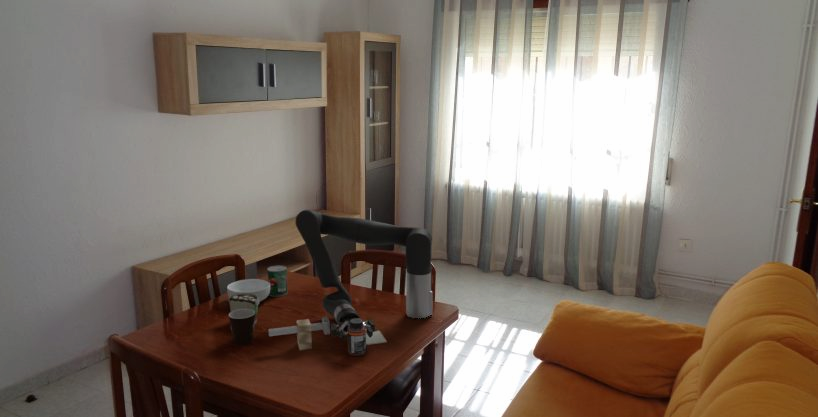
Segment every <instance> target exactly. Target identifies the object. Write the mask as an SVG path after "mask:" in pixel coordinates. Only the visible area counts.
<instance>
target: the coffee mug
mask: <svg viewBox="0 0 818 417" xmlns="http://www.w3.org/2000/svg"><path fill="white" fill-rule="evenodd" d="M228 318H229V319H228V320H229V324H230V329H231V335H232V341H233V344H235V345H237V346H246V345H249V344H251V343H253V342H254V335H255V334H254V331H255V326H254V320H255V311H253V310H251V309H238V310H234V311H232V312H231V311H230V312H229V313H228Z"/></svg>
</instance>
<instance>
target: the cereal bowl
mask: <svg viewBox="0 0 818 417" xmlns="http://www.w3.org/2000/svg"><path fill="white" fill-rule="evenodd" d="M226 291H227V292H226V293H227V296H228V297H229V296H231V295H234V294H238V293H252V294H255V295H257V296H258V298H259V302H262V301H264V300H265V299H267V297H268V296H270V295H269V293H270V283H269V282H268V280H265V279H259V278H248V279H246V278H245V279H240V280H237V281H234V282H231V283H229V284H227V287H226Z"/></svg>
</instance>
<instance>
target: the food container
mask: <svg viewBox="0 0 818 417" xmlns="http://www.w3.org/2000/svg"><path fill="white" fill-rule="evenodd" d="M227 302H229V308H230V312H232V311H234V310H238V309H251V310H253V311H255V320H254V327H255V326H256V325H257V324H258V306H259V305H260V301H259V298H258V296H257V295H255V294H252V293H238V294H234V295H231V296H228V298H227Z"/></svg>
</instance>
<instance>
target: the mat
mask: <svg viewBox="0 0 818 417" xmlns="http://www.w3.org/2000/svg"><path fill="white" fill-rule="evenodd" d="M385 343H387V340H386V338H385V337H384V335H383V334H382V332H381V331H380V330H375V332H373V336H372V337H370V338H369V336H368V335H367V333H366V346H370V345H376V344H385Z"/></svg>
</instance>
